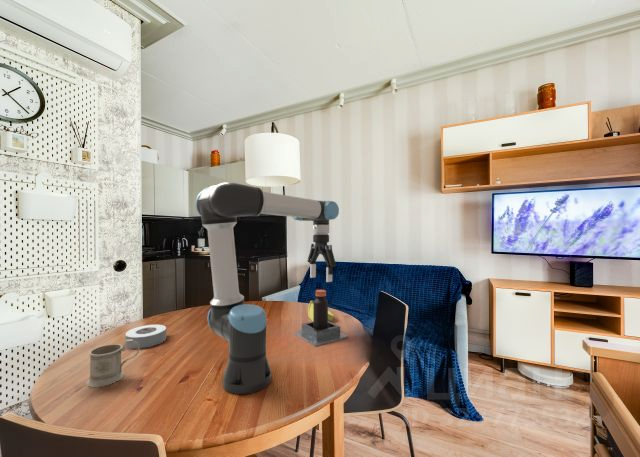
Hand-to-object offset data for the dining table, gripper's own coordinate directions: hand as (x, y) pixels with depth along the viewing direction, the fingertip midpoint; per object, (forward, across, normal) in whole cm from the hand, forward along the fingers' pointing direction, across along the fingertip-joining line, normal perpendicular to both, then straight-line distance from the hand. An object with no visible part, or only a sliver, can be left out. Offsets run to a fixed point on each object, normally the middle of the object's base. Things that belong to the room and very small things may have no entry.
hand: (320, 279), depth 131 cm
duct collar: (+26, 0, 0) cm, 26 cm away
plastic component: (+26, -23, +16) cm, 39 cm away
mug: (+27, -6, -78) cm, 82 cm away
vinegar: (+25, 0, 0) cm, 25 cm away
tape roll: (+27, -36, -68) cm, 81 cm away
